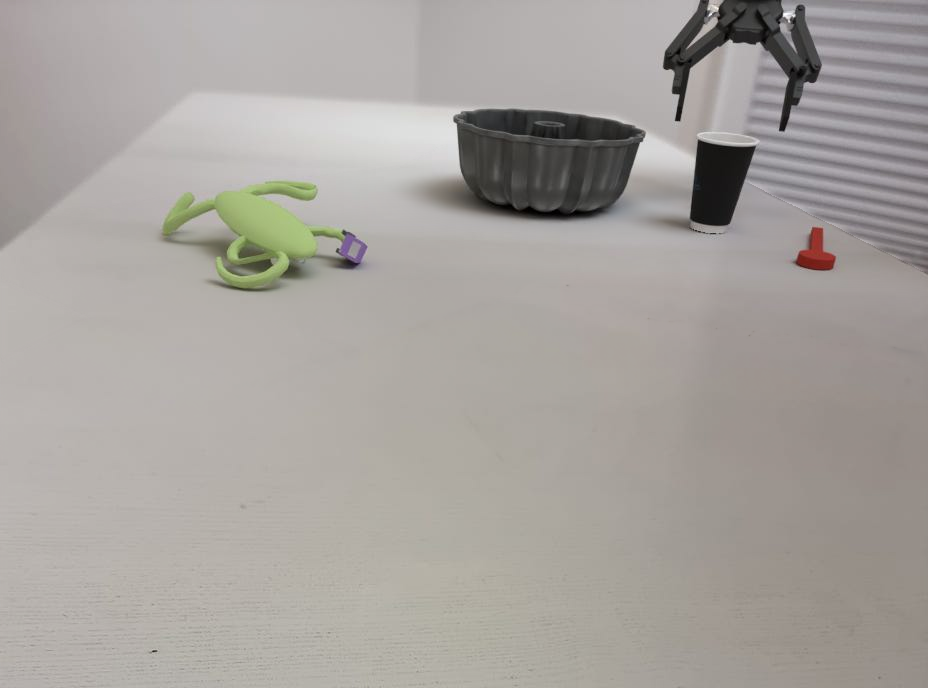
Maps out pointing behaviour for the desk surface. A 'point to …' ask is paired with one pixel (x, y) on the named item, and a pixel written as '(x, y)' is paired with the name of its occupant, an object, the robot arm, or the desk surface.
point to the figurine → (264, 229)
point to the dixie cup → (719, 178)
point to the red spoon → (816, 253)
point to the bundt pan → (545, 158)
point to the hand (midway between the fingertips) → (730, 119)
